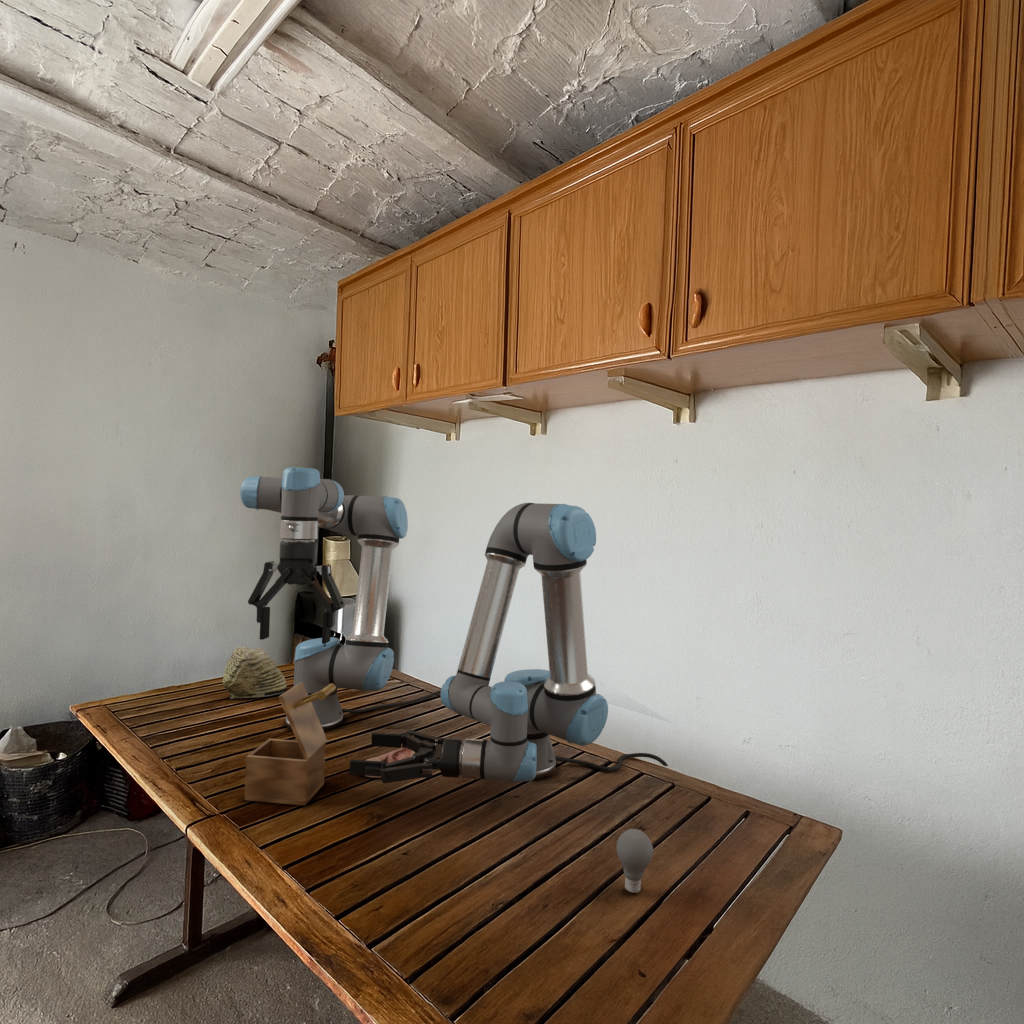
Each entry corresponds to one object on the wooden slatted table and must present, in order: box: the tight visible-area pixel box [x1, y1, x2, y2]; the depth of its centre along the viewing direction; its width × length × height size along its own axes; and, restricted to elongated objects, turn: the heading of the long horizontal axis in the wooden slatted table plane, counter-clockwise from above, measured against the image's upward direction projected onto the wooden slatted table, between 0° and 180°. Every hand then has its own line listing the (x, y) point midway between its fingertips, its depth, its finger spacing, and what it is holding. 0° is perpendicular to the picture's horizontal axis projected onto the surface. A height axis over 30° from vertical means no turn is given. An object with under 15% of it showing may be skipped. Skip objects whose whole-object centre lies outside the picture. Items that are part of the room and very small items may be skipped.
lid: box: [278, 682, 336, 760], centre depth 134 cm, size 14×10×8 cm
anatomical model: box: [363, 747, 416, 779], centre depth 149 cm, size 13×4×12 cm
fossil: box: [222, 646, 288, 699], centre depth 198 cm, size 9×18×15 cm, turn 132°
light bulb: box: [615, 828, 654, 894], centre depth 106 cm, size 6×6×10 cm
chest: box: [244, 737, 326, 807], centre depth 135 cm, size 13×10×9 cm
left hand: (295, 640), depth 134 cm, fingers open, 13 cm apart
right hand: (361, 752), depth 133 cm, fingers open, 13 cm apart
